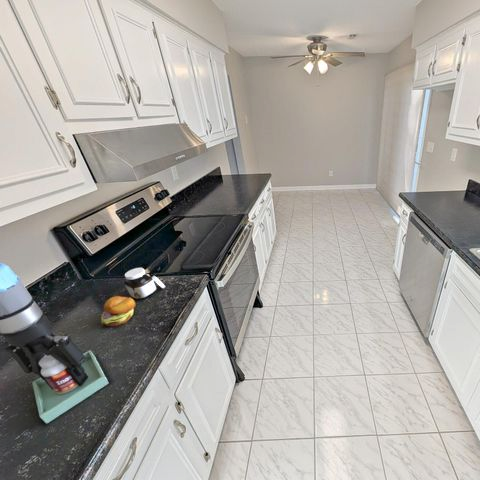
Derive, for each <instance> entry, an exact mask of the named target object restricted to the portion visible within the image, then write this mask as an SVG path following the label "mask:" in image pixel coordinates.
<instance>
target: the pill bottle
mask: <svg viewBox="0 0 480 480" xmlns="http://www.w3.org/2000/svg"><path fill="white" fill-rule="evenodd" d="M39 365H40V366H41V367H42V369H41V374H42V376H43V377H44V378H45V379H46V381H47V382H48V383H49V384H50V386H51V387H52V388H53V389H54V390H55V392H56V393H58V394H63V393H67V392H69V391H71V390H73V389H75V388H76V387H77V386H78V385H77V383H76V382H75V381H74V379H73V378H72V377H71V376H70V374H69V373H68V372H67V371H68V369H69V368H67V367H66V366H65V365H63V364H62V363H60V362H59V361H58V360H56V359H55V358H54V357H52V356H51V355H49V356H47V355H45V354H44V357H43V358H42V359H41V360H40V361H39Z"/></svg>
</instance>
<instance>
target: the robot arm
mask: <svg viewBox="0 0 480 480" xmlns="http://www.w3.org/2000/svg"><path fill="white" fill-rule="evenodd" d="M0 334H1V336H2V337H3V339H4V340H5V341H6V342H7V343H8V345H7V346H5V347H4V351H6V352H7V353H9V354H10V355H11V356H12V357H13V358H14V360H15V361H16V362H17V364H18V365H19V366H20V368H21V369H22V371H23V372H24V373H25V374H26V375H28V374H31V373H33V374H35V375H38V376H39V378H40V377H41V378H42V379H43V380H44V381H45V382H46V383H47V384H48V385H49V386H50V384H49V383H48V382H47V381H46V379H45V378H44V377H43V376H42V374H41V369H42V367H41V366H40V365H39V361H40V360H41V359H42V358H43V357H44V356H45V355H47V356H49V355H51V356H52V357H54V358H55V359H56V360H58V361H59V362H60V363H62V364H63V365H65V366H66V367H67V368H69V369H68V371H67V372H68V373H69V374H70V376H71V377H72V378H73V379H74V381H75V382H76V383H77V385H78V386H82V385H83V384H84V382H85V381H86V380H87V378H88V376H87V374H86V373H85V372H84V371H85V369H84V368H83V366H82V365H81V364H82V363H83V362H84V361H85V359H86V357H85V356H84V355H83V354H84V353H83V352H82V351H81V349H80V348H79V347H78V346H77V345H76V344H75V342H74V341H73V340H72V337H71V334H70V333H65V334H64V335H57V334H56V333H55V332H53V331H52V323H51V321H50V320H49V318H48V317H47V316H46V315H45V314H44V313H43V311H42V309H41V308H40V307H39V305H38V304H37V302H36V301H35V300H34V298H33V296H32V295H31V294H30V292H29V291H28V289H27V288H26V286H25V285H24V284H23V282H22V281H21V280H20V277H19V276H18V274H16V273H15V272H14V270H12V269H11V267H10V266H9V265H8V264H6V263H3V262H0ZM50 387H51V386H50ZM51 389H52V390H54V389H53V388H52V387H51Z"/></svg>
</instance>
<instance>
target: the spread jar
mask: <svg viewBox="0 0 480 480" xmlns="http://www.w3.org/2000/svg"><path fill="white" fill-rule="evenodd" d="M124 277H125V280H124V286H125V288H126V290H127V292H128V294H129V295H130V297H131V298H132V299H135V300H137V301H142V300H146V299H148V298H150V297H151V296H153V295H154V293H155V292H156V291H157V286H156V284H157V285H158V286H159V287H160V288H161V289H165V288H167V287H166V285H165V284H164V283H163V282H162V281H161V280H160V279H159V278H158V277H156V275H153V276H151V275H150V274H149V273H148V272H146V270H145V269H144V268H143V267H135V268H132V269H129V270H128V271H126V272H125V274H124Z"/></svg>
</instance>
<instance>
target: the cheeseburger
mask: <svg viewBox="0 0 480 480" xmlns="http://www.w3.org/2000/svg"><path fill="white" fill-rule="evenodd" d="M136 305H137V304H136V301H135V300H134V298H133V297H131V296H120V295H115V296H112V297H109V298H108V299H107V300H106V301H105V302H104V304H103V310H104V311H102V314H101V317H100V321H101V324H103V325H104V326H106V327H116V326H120V325H123V324H125V323H126V322H127V321H130V319H131V318H132V317H133V316H134V313H135V308H136Z"/></svg>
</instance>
